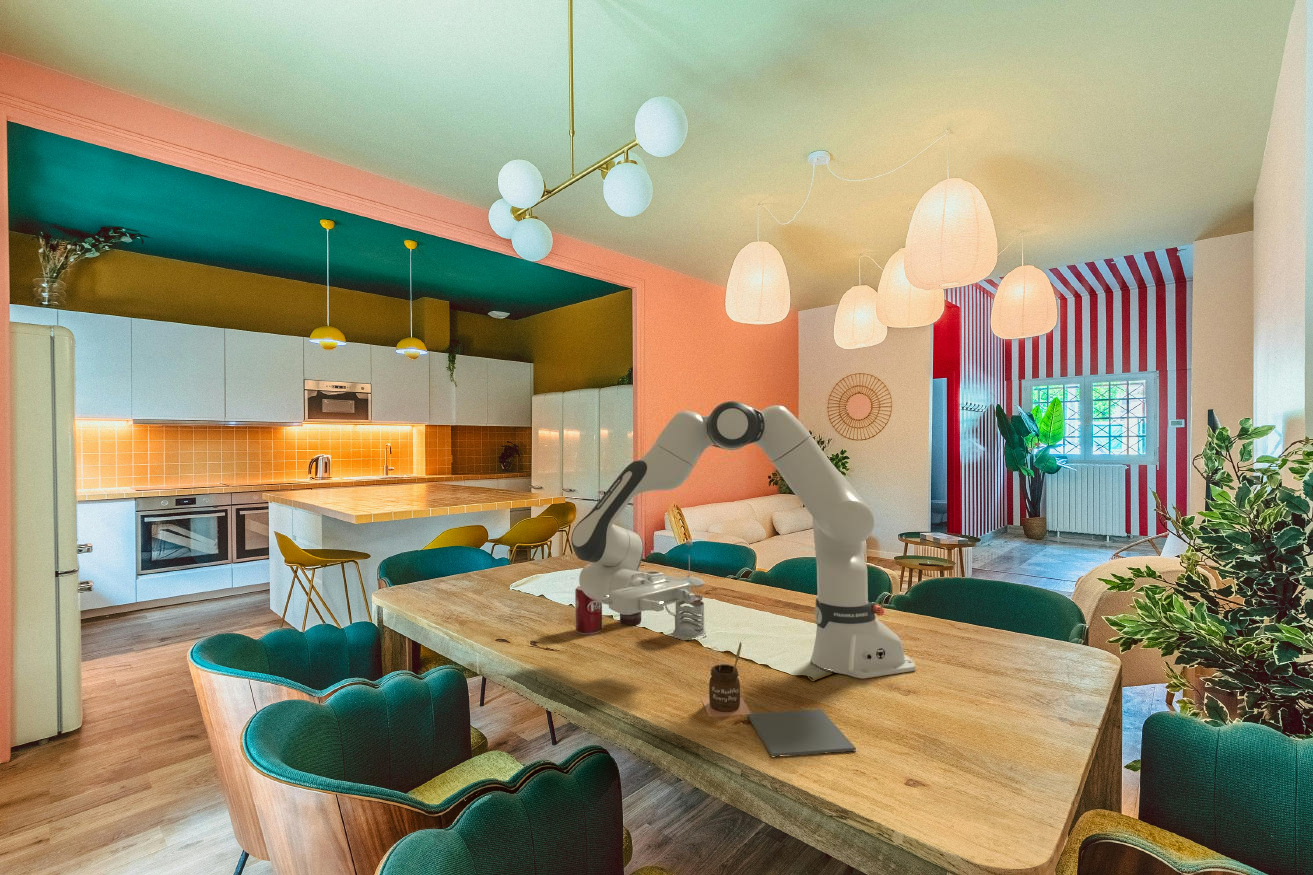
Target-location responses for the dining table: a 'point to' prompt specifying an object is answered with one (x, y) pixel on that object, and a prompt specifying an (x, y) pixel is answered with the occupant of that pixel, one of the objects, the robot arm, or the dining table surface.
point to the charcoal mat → (799, 733)
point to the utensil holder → (724, 686)
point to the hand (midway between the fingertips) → (677, 602)
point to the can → (630, 619)
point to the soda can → (587, 614)
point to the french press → (687, 626)
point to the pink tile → (714, 713)
